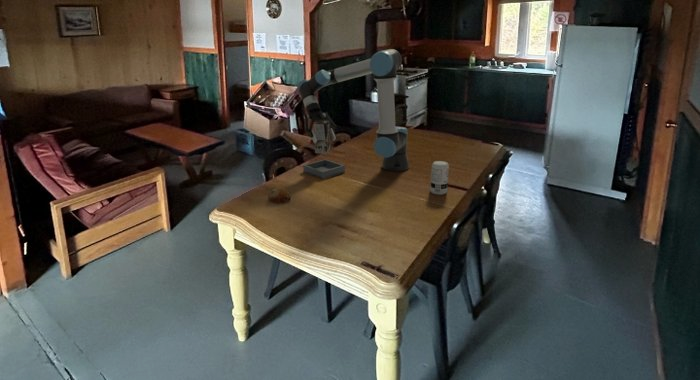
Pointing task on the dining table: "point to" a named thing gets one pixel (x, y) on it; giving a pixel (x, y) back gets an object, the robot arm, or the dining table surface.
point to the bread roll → (279, 196)
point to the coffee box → (322, 136)
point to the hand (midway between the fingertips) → (325, 140)
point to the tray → (324, 169)
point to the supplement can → (439, 177)
